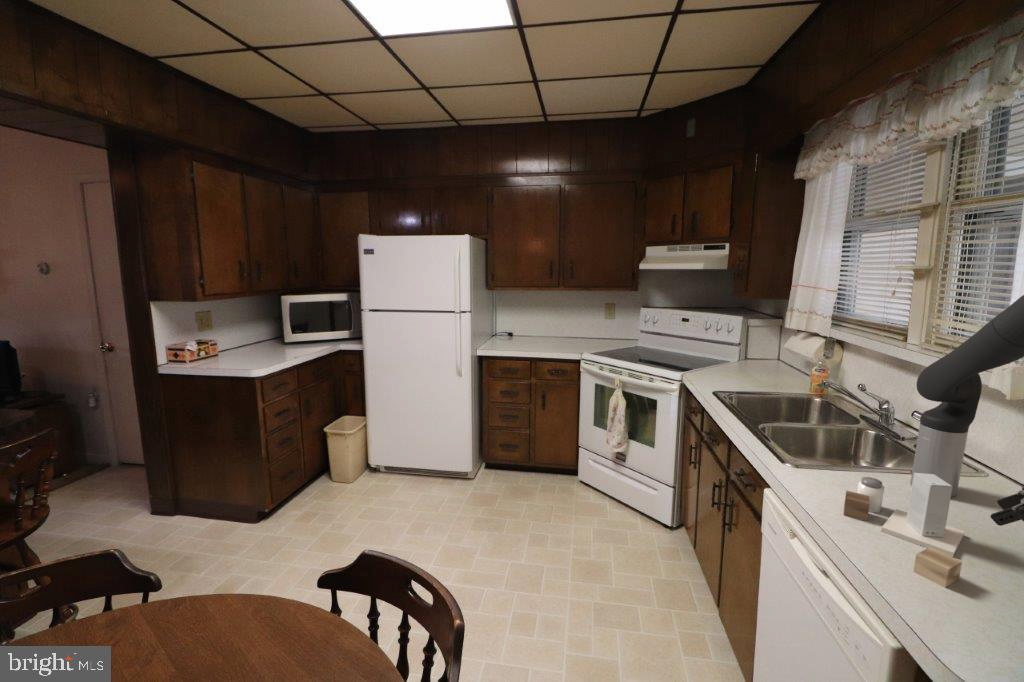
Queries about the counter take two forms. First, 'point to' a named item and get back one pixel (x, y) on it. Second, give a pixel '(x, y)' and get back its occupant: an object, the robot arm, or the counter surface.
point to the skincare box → (929, 504)
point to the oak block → (937, 567)
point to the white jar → (872, 492)
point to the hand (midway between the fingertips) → (997, 513)
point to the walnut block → (856, 505)
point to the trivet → (905, 531)
